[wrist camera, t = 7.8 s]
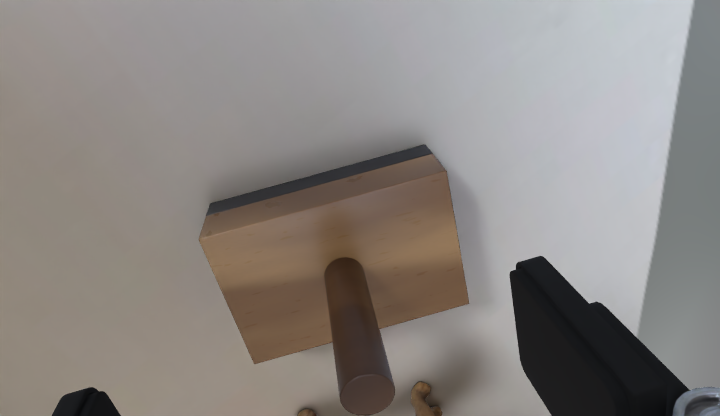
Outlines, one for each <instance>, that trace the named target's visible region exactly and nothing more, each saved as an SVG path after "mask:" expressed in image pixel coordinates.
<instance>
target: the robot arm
mask: <svg viewBox="0 0 720 416" xmlns="http://www.w3.org/2000/svg"><path fill="white" fill-rule="evenodd" d="M510 282H511V290H512V298H513V306H514V314H515V322H516V330H517V339H518V347H519V355H520V361H521V364H522V367H523V370H524V372H525V374H526V376H527V377H528V379H529V380H530V382H531V383H532V385H533V387H534V388H535V390H536V391H537V393H538V395H539V396H540V398H541V399H542V401H543V402H544V404H545V406H546V407H547V409H548V410H549V412H550V414H551V415H552V416H720V388H715V387H704V388H695V389H692V390H689V389H688V388H687V387H686V386H685V385H684V384H683V383H682V382H681V381H680V380H679V379H678V378H677V377H676V376H675V375H674V374H673V373H672V372H671V371H670V370H669V369H668V368H667V367H666V366H665V365H664V364H662V362H661V361H660V360H658V358H657V357H656V356H655V355H654V354H652V352H651V351H649V349H648V348H647V347H646V346H645V345H644V344H643V343H641V342H640V341H639V339H638V338H636V337H635V336H634V335H633V334H632V333H631V332H630V331H629V330H628V329H627V328H626V327H625V326H624V325H623V324H622V323H621V322H620V321H619V320H618V319H617V318H616V317H615V316H614V315H613V314H612V313H611V312H610V311H609V310H608V309H607V308H606V307H605V306H604V305H602V304H601V303H598V302H594V303H590V304H589V303H588V302H587V301H586V300H585V299H584V298H583V297H582V296H581V295H580V294H579V293H578V292H577V291H576V290H575V289H574V288H573V287H572V286H571V285H570V284H569V282H568V281H567V280H566V279H565V278H564V277H563V276H562V275H561V274H560V273H559V272H558V271H557V270H556V269H555V268H554V267H553V266H552V265H551V264H550V263H549V262H548V261H547V260H546V259H545V258H544V257H543V256H538V257H535V258H532V259H528V260H525V261H521V262H518V263H517V264H516V270H514V271H511V272H510ZM52 416H121V415H120V414H119V412H118V411H117V409H116V408H115V406H114V404H113V403H112V401H111V400H110V398H109V397H108V395H107V394H106V393H105V392H103V391H100V392H99V391H98V390H97V389H95V388H93V387H90V388H86V389H83V390H79V391H76V392H73V393H69V394H66V395H64V396H63V397H62V398H61V399H60V401H59V403H58V405H57V407H56V409H55V410H54V412H53V414H52Z"/></svg>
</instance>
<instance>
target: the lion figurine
mask: <svg viewBox="0 0 720 416" xmlns="http://www.w3.org/2000/svg"><path fill="white" fill-rule="evenodd" d="M430 390H431V388H430V386H429V385H427V384H426V383H423V382H418V383H417V384H416V385H415V386H414V387H413V389H412V391H411V403H412V405H413V407H414V409H415V414H416V416H441V415H442V411H441V409H440V407H438V406H435V407H431V408H430V407H429V406H428V404H427V403H426V401H425V398H426V397H427V396H429V394H430ZM298 416H316V414H315V413H314V412H313V411H312V410H310V409H305V410H302V411H300V412H299V414H298Z"/></svg>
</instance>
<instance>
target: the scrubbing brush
mask: <svg viewBox="0 0 720 416" xmlns="http://www.w3.org/2000/svg"><path fill="white" fill-rule="evenodd" d="M199 242H200V244H201V246H202V248H203V251H204V253H205V255H206V257H207V259H208V262H209V264H210V266H211V268H212V271H213V273H214V275H215V277H216V280H217V282H218V284H219V286H220V289H221V291H222V293H223V295H224V298H225V300H226V302H227V304H228V306H229V309H230V311H231V313H232V315H233V318H234V320H235V322H236V324H237V327H238V329H239V331H240V333H241V336H242V338H243V340H244V342H245V344H246V347H247V349H248V351H249V353H250V356H251V358H252V360H253V362H254V364H257V363H260V362H264V361H267V360H271V359H274V358H278V357H282V356H285V355H289V354H292V353H296V352H299V351H303V350H306V349H310V348H314V347H317V346H321V345H324V344H328V343H331V342H333V349H334V356H335V364H336V372H337V380H338V387H339V395H340V401H341V404H342V405H343V407H344V408H345V409H346V410H347V411H349V412H351V413H353V414H356V415H372V414H375V413H378V412H380V411H382V410H384V409H385V408H386V407H388V406H389V404H390V403H391V402H392V400H393V398H394V395H395V386H394V383H393V379H392V375H391V371H390V368H389V364H388V360H387V356H386V352H385V349H384V345H383V341H382V337H381V334H380V330H379V329H381V328H384V327H388V326H392V325H395V324H399V323H402V322H406V321H409V320H413V319H416V318H420V317H424V316H427V315H431V314H434V313H438V312H441V311H445V310H448V309H452V308H455V307H459V306H463V305H466V304H469V299H468V293H467V287H466V281H465V275H464V270H463V264H462V258H461V252H460V246H459V240H458V235H457V229H456V223H455V217H454V211H453V205H452V199H451V194H450V188H449V182H448V176H447V171H446V170H445V168H444V167H443V166H442V165H441V164H440V162H439V161H438V160H437V159H436V157H435V156H434V155H433V154H432V152H431V151H430V150H429V149H428V147H427V146H426V145H422V146H418V147H414V148H411V149H407V150H403V151H400V152H396V153H392V154H389V155H385V156H382V157H378V158H374V159H371V160H367V161H363V162H360V163H356V164H352V165H349V166H345V167H342V168H338V169H334V170H331V171H327V172H323V173H320V174H316V175H312V176H309V177H305V178H302V179H298V180H294V181H291V182H287V183H283V184H280V185H276V186H272V187H269V188H265V189H262V190H258V191H254V192H251V193H247V194H243V195H240V196H236V197H232V198H229V199H225V200H222V201H218V202H214V203H211V204H210V205H209V208H208V211H207V214H206V218H205V221H204V224H203V227H202V230H201V233H200V236H199Z"/></svg>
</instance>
